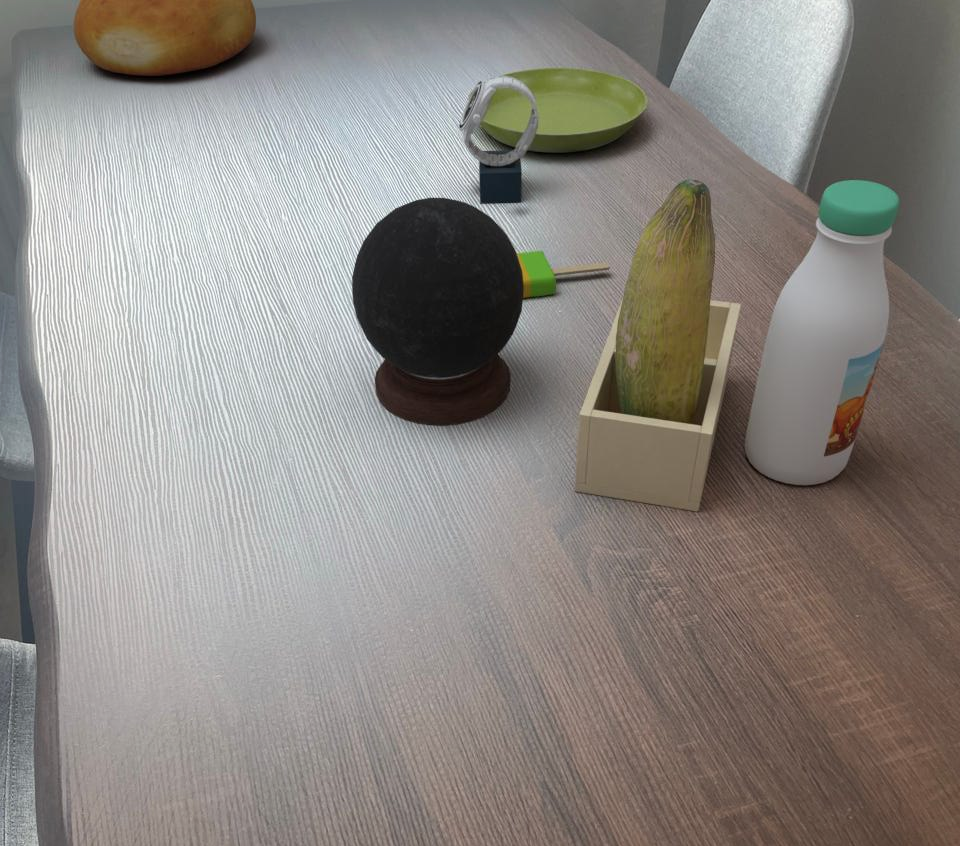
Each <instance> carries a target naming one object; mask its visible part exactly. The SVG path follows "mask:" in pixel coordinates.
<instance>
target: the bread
mask: <svg viewBox="0 0 960 846" xmlns="http://www.w3.org/2000/svg"><path fill="white" fill-rule="evenodd" d="M256 27H257V14H256V9H255V5H254V3H253V1H252V0H80V1H79V3H78V5H77V7H76V10H75V13H74V19H73V35H74V36H73V37H74V40H76V44H77V46H78V47H79V49H80V51H81V52H82V53H83V55H84V56H85V57H86V58H87V59H88V60H89V61H90V62H91V63H92V64H94V65H95V66H97V67H99V68H100V69H103V70H106V71H109V72H110V73H111V72H112V73H118V74H124V75H130V76H142V77H157V76H161V77H162V76H169V75H177V74H183V73H189V72H192V71H199V70H204V69H207V68H211V67H214V66H216V65H219V64H222V63H224V62H226V61H228V60H229V59H232V58H234V57H235V56H237V55H238V54H239V53H241V52H242V51H243V50H245V48H246V47H247V46H249V44H250V43H251V42H252V40H253V37H254V35H255V31H256Z"/></svg>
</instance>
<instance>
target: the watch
mask: <svg viewBox="0 0 960 846" xmlns="http://www.w3.org/2000/svg"><path fill="white" fill-rule="evenodd" d="M500 76H501V75H495V76H490V77H488V78H487V79H486V80H484V81H483V80H480V81H478V82H477V84H476V85H475V87H474V88H473V89H472V91H473V92H472V91H471V92H472V94H471V95H470V97H469V96H468V97H469V99H468V98H467V100H468V102H466V104H465V107H464V108H463V111H462V114H461V117H460V121H459V126H458V128H459V130H460V131H463V142H464V145H465V146H466V148H467V150H468V152H469V153H470V155H472V157H473V158H474V159H476V161H478V184H479V185H478V186H479V187H478V188H479V203H480V204H511V203H512V204H513V203H514V204H515V203H522V188H523V187H522V185H523V184H522V183H523V182H522V181H523V180H522V179H523V171H522V170H523V169H522V158H523V157H524V156H525V155H526V153H527V152H528V148H529V147H530V145H531V143H532V141H533V139H534V137H535V134H536V131H537V128H538V124H539V118H538V112H537V105H536V101H535V98H534V96H533V94H532V92H531V91H530V89H529V88H528V87H527V86H526V85H525V84H524V83H523V82H521V81H520V80H518V79H516V78H513V77H509V76H501V78H500ZM503 81H504V82H503ZM500 87H502V88H511V89H514V90H519V92H520V93H522V94H523V95H525V96H526V98H527V99H528V100H529V101H530V102H531V105H532V107H533V109H532V110H531V116H530V119H529V122H528V125H527V127H526V129H525V132H524V133H523V135H522V137H521V138H520V140H519V141H518V143H517V145H516V148H515V147H514V149H501V150H498V149H497V150H481V148H479V147H478V146H477V145H475V143H474V142H473V140H472V139H471V135H472V134H474V133H475V132H476V131H477V130H478V129H479V128H480V127H481V126H480V124H481V122H482V121H483V119H484V117H485V115H486V112H487V110H488V108H489V105H490V102H491V99H492V96H493V94H494V93H495V91H496V88H500Z"/></svg>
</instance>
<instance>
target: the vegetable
mask: <svg viewBox="0 0 960 846" xmlns="http://www.w3.org/2000/svg"><path fill="white" fill-rule="evenodd" d="M712 216H713V215H712V196H711V192H710V189H709V187H708V186H707V185H706V183H704V182H703V181H702V180H701V179H697V178H688V179H684V180H682V181H681V182H679V183H677V185H675V186H674V188H673V189H672V190H671V191H670V193H669V194H668V196H667V197H666V199H665V200H664V202H663V203H662V204H661V206H660V207H659V208H658V209H657V210H656V211H655V213H654V214H653V215H652V216H651V217H650V219H649V220H648V222H647V224H646V225H645V227H644V229H643V230H642V233H641V234H640V236H639V238H638V241H637V244H636V248H635V250H634V253H633V256H632V260H631V264H630V268H629V271H628V275H627V279H626V282H625V286H624V291H623V296H622V298H623V301H622V300H621V301H622V305H621V309H620V314H619V318H618V325H617V333H616V356H615V361H616V382H617V392H618V400H619V405H620V410H621V414H626V415H633V416H640V417H646V418H653V419H660V420H667V421H673V422H680V423H687V424H692V422H693V420H694V418H695V415H696V412H697V408H698V404H699V400H700V390H701V381H702V371H703V365H704V359H705V350H706V343H707V334H708V325H709V313H710V300H712V293H713V280H714V273H715V265H716V236H715V229H714V222H713V218H712Z"/></svg>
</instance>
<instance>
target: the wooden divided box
mask: <svg viewBox="0 0 960 846" xmlns="http://www.w3.org/2000/svg"><path fill="white" fill-rule="evenodd" d="M622 301H623V297H622V299H621V301H620V304H619V307H618V308H617V312H616V314H615V317H614V320H613V322H612V325H611V328H610V330H609V334H608V336H607V339H606V342H605V344H604V347H603V350H602V352H601V355H600V358H599V360H598V363H597V365H596V368H595V371H594V373H593V376H592V378H591V382H590V384H589V387H588V389H587V393H586V395H585V398H584V400H583V403H582V406H581V408H580V411H579V414H578V428H577V443H576V459H575V473H574V474H575V476H574V492H577V493H583V494H588V495H595V496H599V497H607V498H611V499H612V498H613V499H619V500H625V501H630V502H637V503H643V504H648V505H656V506H661V507H666V508H673V509H680V510H685V511H690V512H696V513H699V511H700V506H701V502H702V497H703V491H704V489H705V483H706V479H707V474H708V469H709V464H710V460H711V457H712V456H711V455H712V452H713V446H714V442H715V437H716V434H717V433H716V432H717V428H718V423H719V419H720V415H721V410H722V406H723V401H724V396H725V392H726V387H727V382H728V377H729V372H730V368H731V367H730V366H731V362H732V356H733V350H734V346H735V339H736V335H737V329H738V324H739V318H740V312H741V308H742V304H741V303H737V302H729V301H720V300H714V299H711V300H710V313H709V325H708V334H707V343H706V350H705V359H704V365H703V371H702V381H701V390H700V400H699V404H698V408H697V412H696V415H695V418H694V420H693V422H692V424H687V423H680V422H673V421H667V420H660V419H653V418H646V417H640V416H633V415H626V414H621V410H620V405H619V400H618V392H617V382H616V361H615V356H616V333H617V325H618V318H619V314H620V309H621V305H622Z"/></svg>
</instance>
